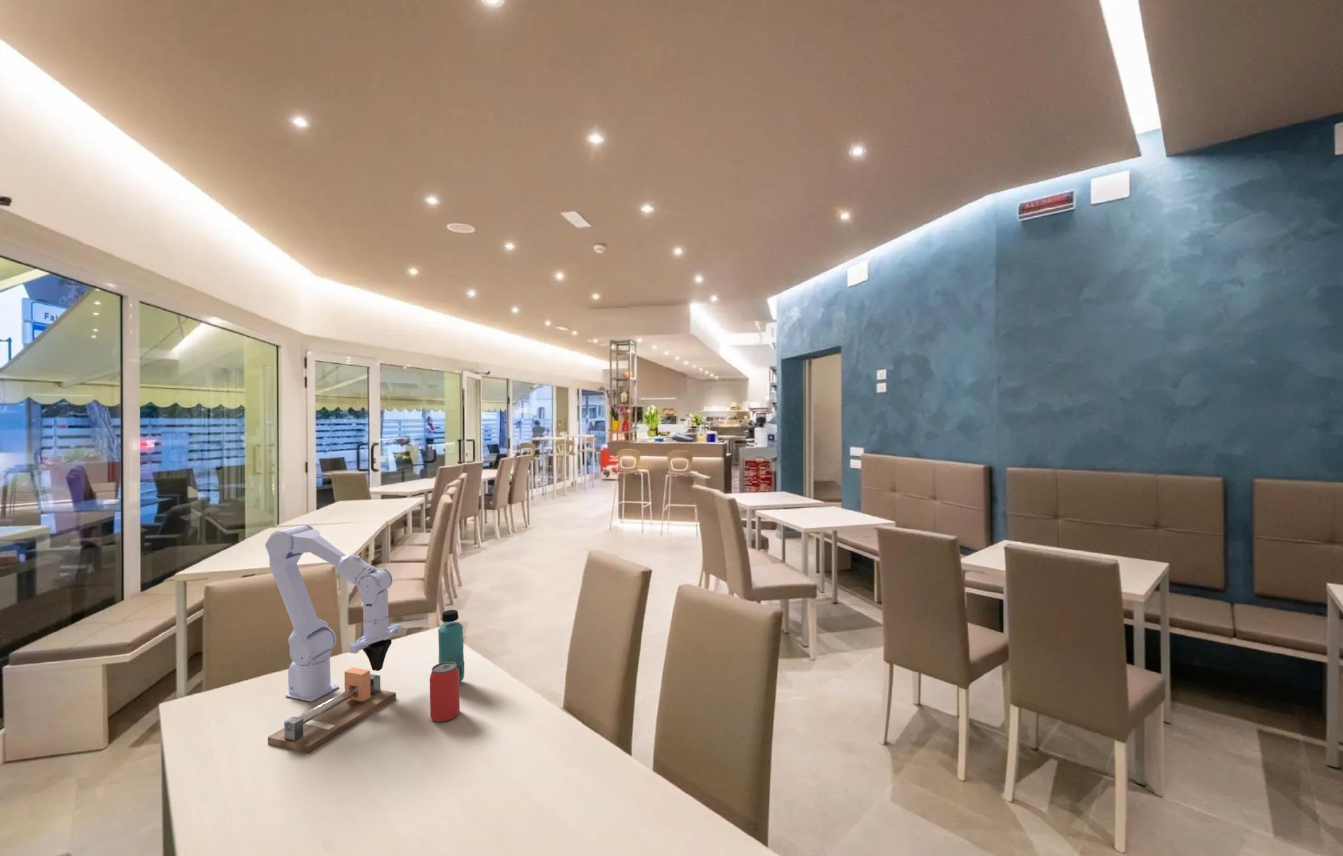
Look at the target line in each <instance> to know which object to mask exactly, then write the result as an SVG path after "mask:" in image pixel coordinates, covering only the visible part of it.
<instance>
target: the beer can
mask: <svg viewBox="0 0 1343 856" xmlns="http://www.w3.org/2000/svg"><path fill="white" fill-rule="evenodd" d="M429 676H430V677H429V701H430V702H429V707H430V708H429V709H430V710H429V711H430V715H429V716H430V718H431V720H432V721H433V722H436V723H444V722H445V723H446V722H448V721H451V720H453V719H455V718H457V716H458V715H459V714H460V709H461V706H460V703H461V701H460V682H459V671H458V668H457V664H456V663H454V662H443V663H437V664H435V665H434V666H433V667H432V668H431V673H430V675H429Z"/></svg>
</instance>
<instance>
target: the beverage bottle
mask: <svg viewBox="0 0 1343 856" xmlns="http://www.w3.org/2000/svg"><path fill="white" fill-rule="evenodd" d="M458 620H459V611H458V610H456V609H449V610H445V611H443V612H442V615H441V621H442V622H443V624H441V626H440V627H439V628H438V629H437V632H438V633H437V634H438V635H437V636H438V637H437V639H438V662H437V664H439V663H443V662H454V663H456V664H457V668H458V671H459V683H460V682H462V681H463V680H464V677H465V676H466V675H465V669H466V668H465V659H464V657H465V656H464V644H465V643H464V634H463V633H464V631H463V630H464V625H463V624H461V622H459V621H458Z"/></svg>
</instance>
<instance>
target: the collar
mask: <svg viewBox="0 0 1343 856" xmlns="http://www.w3.org/2000/svg"><path fill="white" fill-rule="evenodd" d="M370 674H371V670H370V669H364V668H359V667H351V668H349V669H347V670H345V671H344V691H346V690H348V689H350V688H352V687H353V686H358V694H356V695H354V696H352V697H351V698H349V699H352V700H357V701H362V702H363V701H364V700H366V699H368V698H369V697H371V695H370Z"/></svg>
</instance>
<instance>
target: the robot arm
mask: <svg viewBox="0 0 1343 856" xmlns="http://www.w3.org/2000/svg"><path fill="white" fill-rule="evenodd" d="M264 545H265V548H266V550H267V551H266V552H267V554H268V557H269V568H270V571H271V573H272V576H273V578H274V581H275V584H276V586H277V589H278V591H279V594H280V596H281V599H282V602H283V604H284V607H285V610H286V612H287V614H288V618H289V620H290V622H291V625H292V628H293V630H292V632H291V634H290V635H289V637H288V639H287V642H288V646H289V657H290V659H291V660H292V662H291V663H290V665H289V666H288V667H289V668H288V670H287V672H288V673H287V678H288V681H287V682H288V683H287V684H288V692H287V693H285V695H284V696H285V697H288V698H292V699H295V700H296V699H298V700H302V701H307V702H314V701H316V700H318V699H320V698H322V697H323V696H325V695H327V694H329V693H331V692H333V691H335V690H336V689H339V687H340V686H339V685H338V684H334V683H332V682H331V681H332V680H331V678H332V677H331V654H332V649H333V648H334V647H335V646H336V643H337V636H336V633H335V631H334V630H332V628H331V627H330V626H329V623H328V621H325V620H323V619H320V618H318V616H317V613H316V610H315V608H314V605H313V603H312V600H311V597H310V595H309V592H308V590H307V587H306V585H305V582H304V579H303V577H302V574H301V571H300V569H299V567H298V562H299V561H300V560H301V559H300V558H301V557H302V556H303V554H306V553H311V554H312V555H314V556H316V557H318V558H320V559H322V560H323V561H325V562H327V563H329V564H331V565H333V566H335V568H336V573H337V574H338V575H339V576H341V577H342V578H343V579H346V580H347V581H349V582H350V583H351V584H353V585H354V586H356V589H357V592H358V593H359V594H360V596H361V602H362V605H363V606H362V611H363V614H362V615H363V635H362V636H361V637H359V638H358V639H357V640H355V641H354V642H353V643H351V644H349V645H348V646H349V648H348V650H349V653H350V654H355V655H356V654H358V653H359V652H360V651H361V650H362V651H363V652H364V654H365V655H366V656H367V659H368V661H369V663H370V667H371V671H374V672H379V671H380V670H383V668H384V667H383V666H384V662H385V659H386V655H387V653H388V650H389V648H390V647H391V645H392V639H391V637H392V636H393V635H394V634H397V633H398V634H399V633H401V632H402V624H398V623H394V624H392V625H389V622H390V621H389V620H390V619H389V590H388V589H389V588H390V587H391V586H392V583H393V576H392V574H391V572H390V571H388V569H386V568H385V567H381V568H377V567H376V566H374V565H371V564H369V563H368V562H366V561H364V559H362V556H360V555H359V554H356V555H355V554H348V555H346V554H345V553H344V552H342V551H341V550H340V549H339V548H337V547H336V546H335V545H334V544H331V542H329V541H328V540H326V539H325V538H324V537H322V536H321V534H320V531H319V530H318V529H316V528H314V527H313V526H312V525H309V524H307V523H306V524H305V523H303V524H300V525H298V526H294V527H290V528H286V529H282V530H276V531H273V532H272V533H271V534H270V536H269V537H268V539H267V541H266V542H265V544H264Z"/></svg>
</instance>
